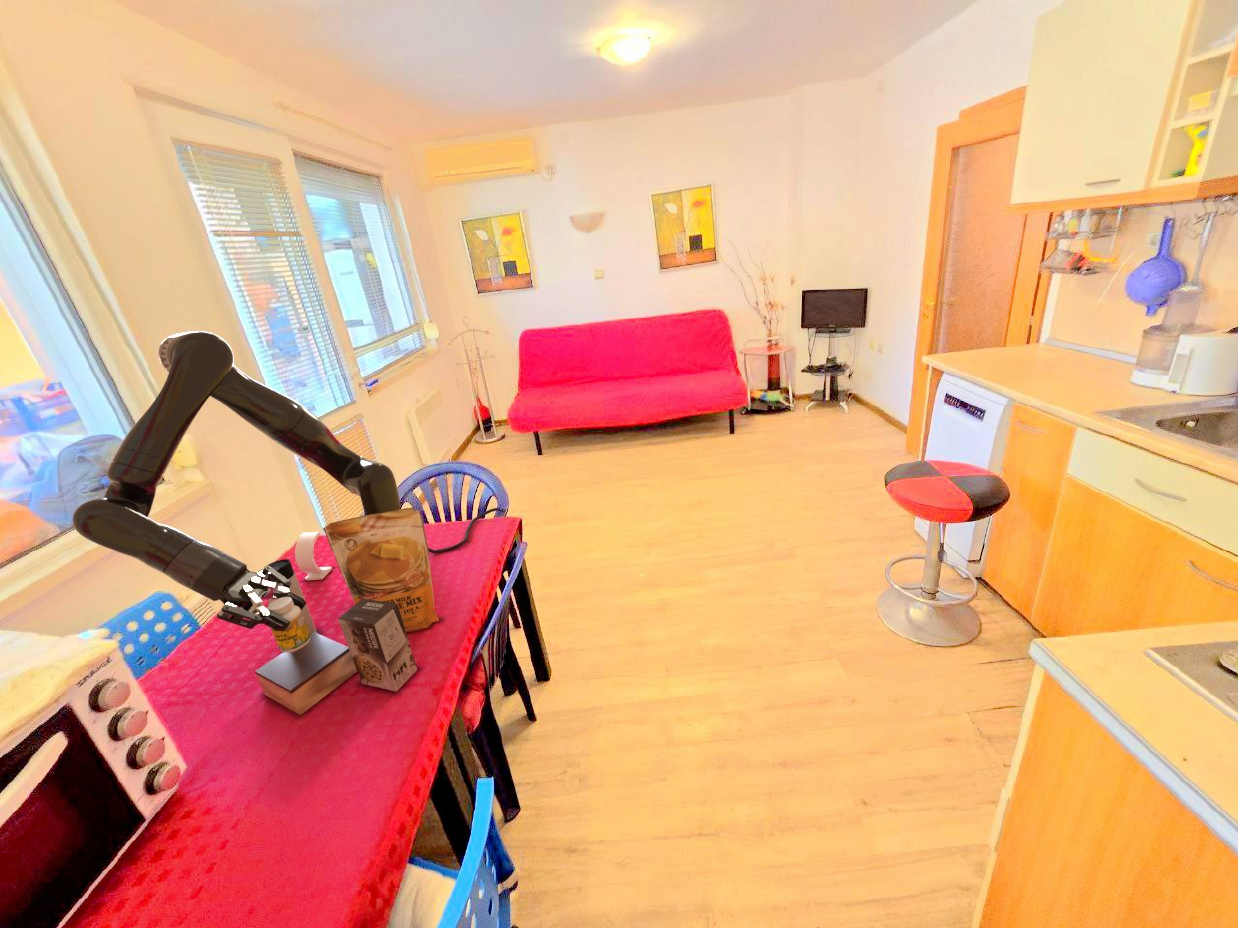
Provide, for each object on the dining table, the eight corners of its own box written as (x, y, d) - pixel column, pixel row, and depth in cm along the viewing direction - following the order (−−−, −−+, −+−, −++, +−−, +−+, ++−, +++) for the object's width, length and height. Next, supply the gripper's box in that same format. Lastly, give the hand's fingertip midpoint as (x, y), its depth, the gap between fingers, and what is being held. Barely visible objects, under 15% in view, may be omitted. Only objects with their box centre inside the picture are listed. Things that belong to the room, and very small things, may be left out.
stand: (322, 654, 109) (314, 631, 106) (358, 670, 103) (349, 647, 101) (265, 694, 99) (254, 670, 97) (300, 715, 93) (290, 690, 91)
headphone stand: (332, 569, 142) (319, 531, 137) (319, 581, 136) (306, 543, 132) (316, 569, 142) (303, 532, 137) (303, 582, 136) (289, 544, 132)
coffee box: (418, 668, 102) (399, 603, 96) (396, 693, 96) (374, 625, 91) (383, 660, 105) (362, 596, 99) (359, 683, 100) (336, 617, 94)
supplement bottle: (315, 631, 100) (300, 591, 97) (306, 650, 95) (290, 608, 92) (285, 637, 99) (269, 597, 96) (275, 656, 94) (257, 614, 91)
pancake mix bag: (362, 624, 117) (326, 517, 107) (447, 608, 120) (420, 503, 110) (354, 644, 111) (316, 532, 101) (443, 626, 114) (415, 516, 104)
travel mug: (304, 650, 110) (274, 573, 103) (279, 648, 112) (247, 572, 104) (325, 631, 116) (297, 557, 108) (301, 629, 117) (272, 555, 110)
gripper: (187, 578, 83) (285, 628, 88) (241, 535, 96) (323, 581, 101) (167, 608, 84) (264, 656, 89) (222, 562, 98) (304, 606, 103)
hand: (295, 616), depth 95 cm, fingers closed on supplement bottle, 5 cm apart
